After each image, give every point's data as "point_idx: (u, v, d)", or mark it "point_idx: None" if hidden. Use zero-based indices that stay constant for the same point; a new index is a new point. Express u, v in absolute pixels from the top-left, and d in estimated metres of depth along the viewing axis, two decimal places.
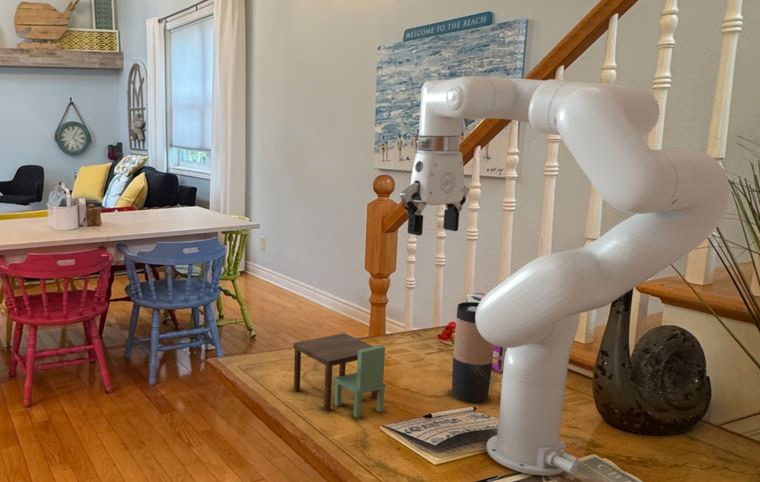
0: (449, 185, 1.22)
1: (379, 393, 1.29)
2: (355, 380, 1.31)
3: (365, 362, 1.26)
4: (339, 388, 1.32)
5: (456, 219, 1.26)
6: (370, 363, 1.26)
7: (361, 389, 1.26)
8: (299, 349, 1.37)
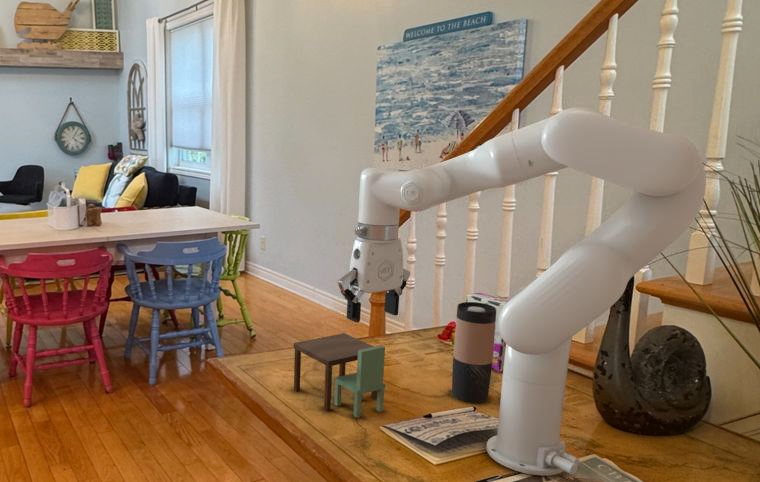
0: (387, 273, 1.21)
1: (379, 393, 1.29)
2: (355, 380, 1.31)
3: (365, 362, 1.26)
4: (339, 388, 1.32)
5: (396, 304, 1.26)
6: (370, 363, 1.26)
7: (361, 389, 1.26)
8: (299, 349, 1.37)
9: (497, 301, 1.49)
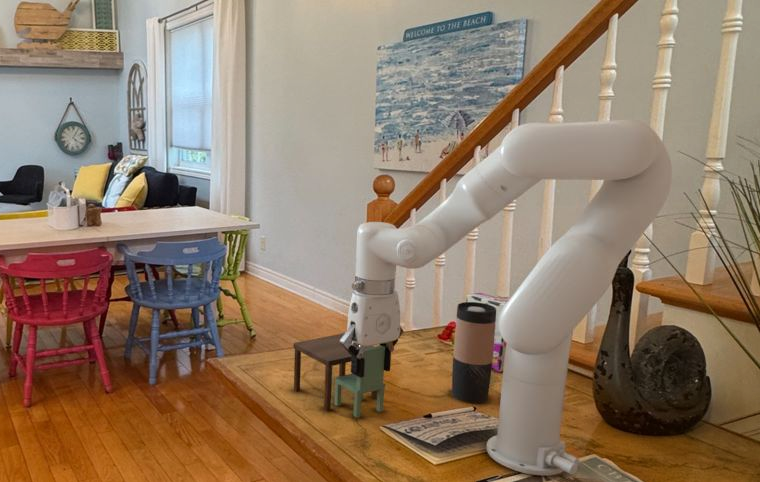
0: (385, 326, 1.23)
1: (379, 393, 1.29)
2: (355, 380, 1.31)
3: (365, 362, 1.26)
4: (339, 388, 1.32)
5: (388, 360, 1.27)
6: (370, 363, 1.26)
7: (361, 389, 1.26)
8: (299, 349, 1.37)
9: (497, 301, 1.49)
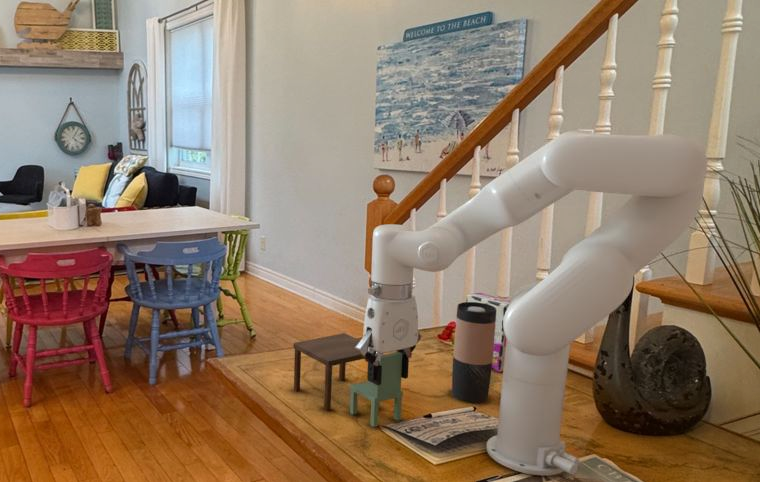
0: (402, 331, 1.19)
1: (396, 401, 1.25)
2: (371, 388, 1.27)
3: (382, 369, 1.22)
4: (355, 396, 1.28)
5: (405, 367, 1.23)
6: (387, 370, 1.22)
7: (378, 397, 1.22)
8: (299, 349, 1.37)
9: (497, 301, 1.49)
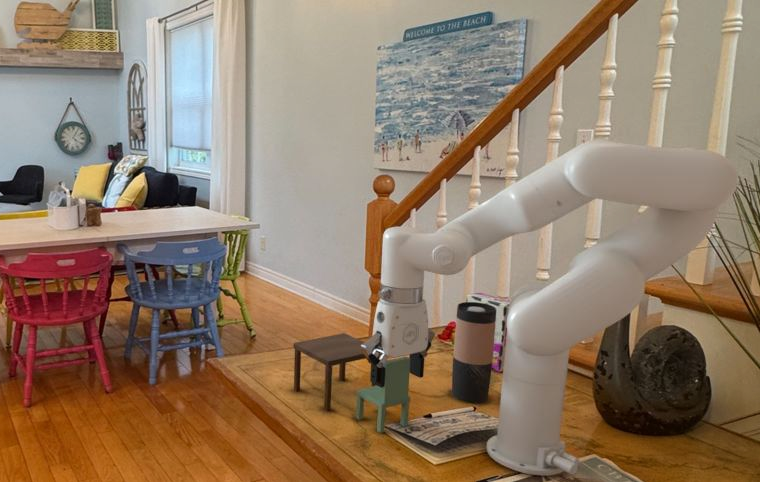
0: (412, 336, 1.17)
1: (404, 406, 1.23)
2: (378, 393, 1.25)
3: (390, 374, 1.20)
4: (361, 401, 1.26)
5: (421, 366, 1.21)
6: (395, 375, 1.20)
7: (385, 403, 1.20)
8: (299, 349, 1.37)
9: (497, 301, 1.49)
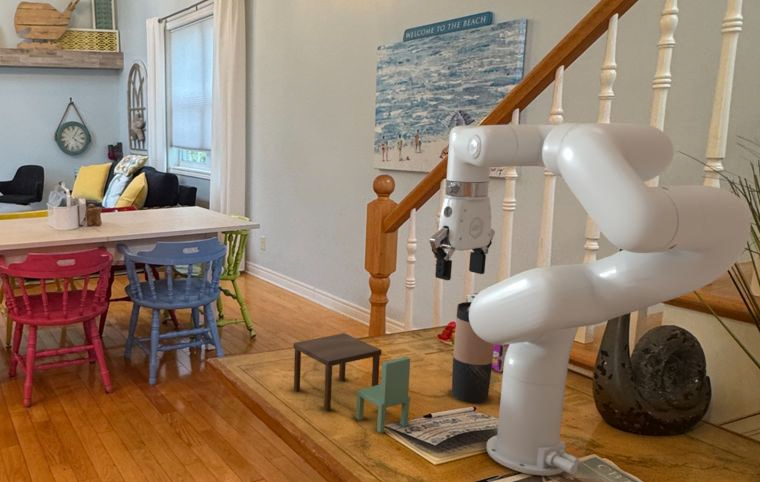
0: (477, 230, 1.22)
1: (404, 406, 1.23)
2: (378, 393, 1.25)
3: (390, 374, 1.20)
4: (361, 401, 1.26)
5: (483, 262, 1.26)
6: (395, 375, 1.20)
7: (385, 403, 1.20)
8: (299, 349, 1.37)
9: None
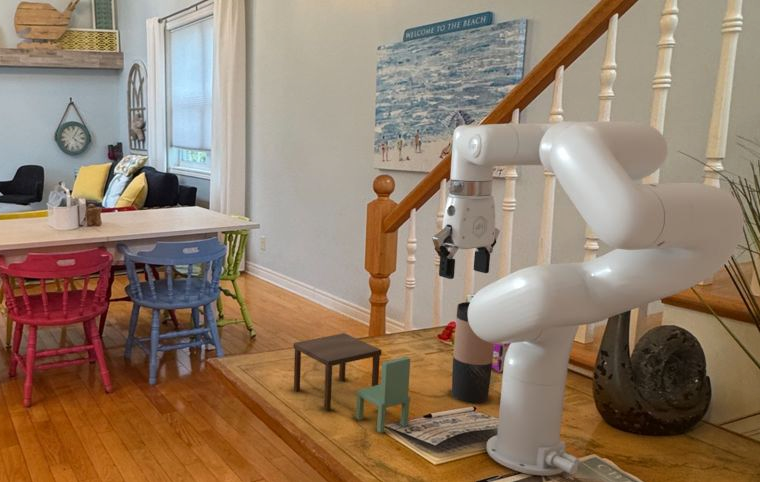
0: (481, 229, 1.23)
1: (404, 406, 1.23)
2: (378, 393, 1.25)
3: (390, 374, 1.20)
4: (361, 401, 1.26)
5: (487, 261, 1.27)
6: (395, 375, 1.20)
7: (385, 403, 1.20)
8: (299, 349, 1.37)
9: None
